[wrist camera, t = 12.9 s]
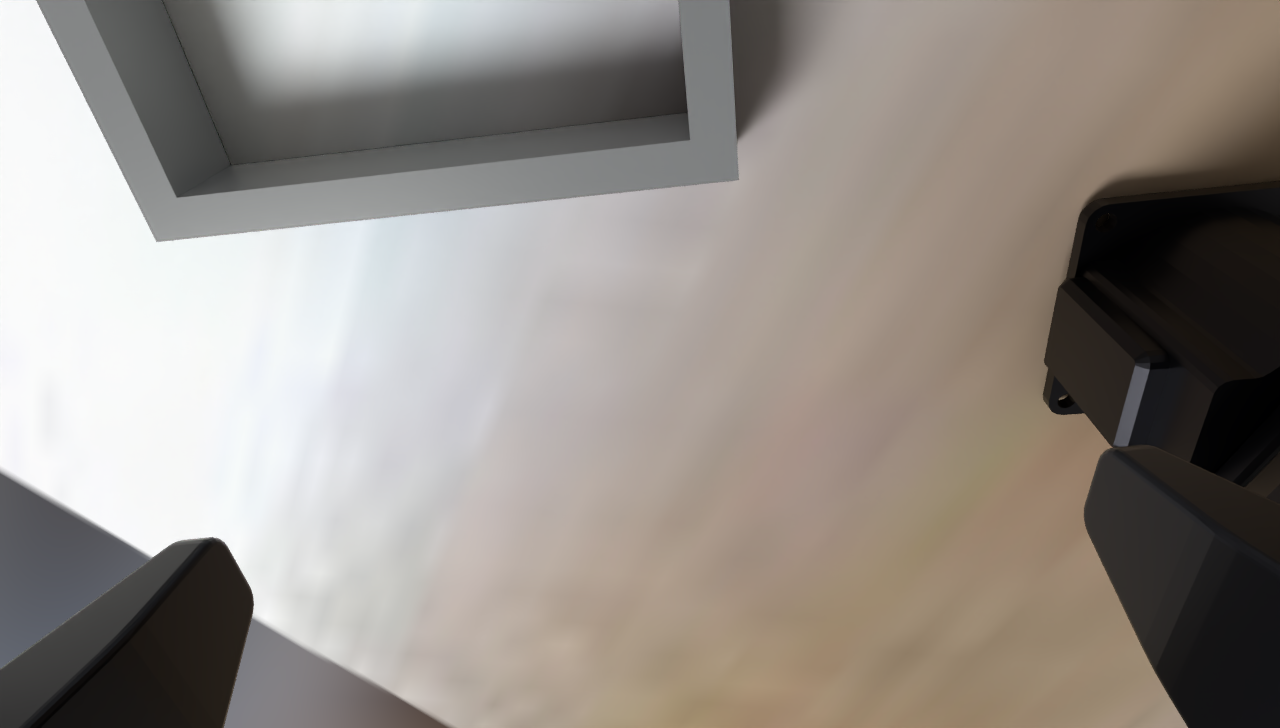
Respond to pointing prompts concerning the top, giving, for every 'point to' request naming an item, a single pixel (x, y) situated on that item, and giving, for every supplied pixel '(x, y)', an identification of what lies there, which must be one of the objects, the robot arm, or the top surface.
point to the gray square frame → (376, 178)
